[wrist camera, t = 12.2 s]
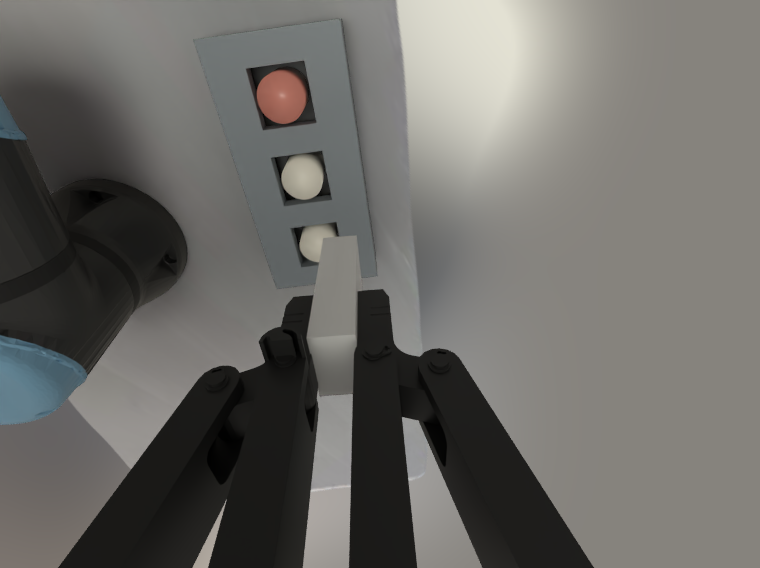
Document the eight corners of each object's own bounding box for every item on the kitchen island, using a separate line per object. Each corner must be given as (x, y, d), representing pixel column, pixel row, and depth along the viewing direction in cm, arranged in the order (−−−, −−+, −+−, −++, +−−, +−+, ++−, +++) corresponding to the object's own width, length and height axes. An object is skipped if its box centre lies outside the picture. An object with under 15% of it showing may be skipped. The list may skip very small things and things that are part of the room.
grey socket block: (375, 254, 49) (377, 275, 45) (283, 266, 49) (276, 288, 45) (341, 18, 35) (340, 18, 31) (212, 37, 35) (193, 39, 31)
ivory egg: (340, 239, 47) (339, 259, 43) (308, 243, 47) (304, 264, 43) (334, 209, 45) (332, 227, 41) (300, 213, 45) (295, 232, 41)
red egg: (313, 109, 38) (308, 120, 34) (273, 115, 38) (264, 126, 34) (304, 63, 36) (298, 69, 32) (262, 69, 36) (250, 75, 32)
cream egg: (328, 180, 43) (326, 196, 39) (293, 185, 43) (287, 202, 39) (321, 143, 40) (317, 157, 37) (284, 149, 41) (276, 163, 37)
